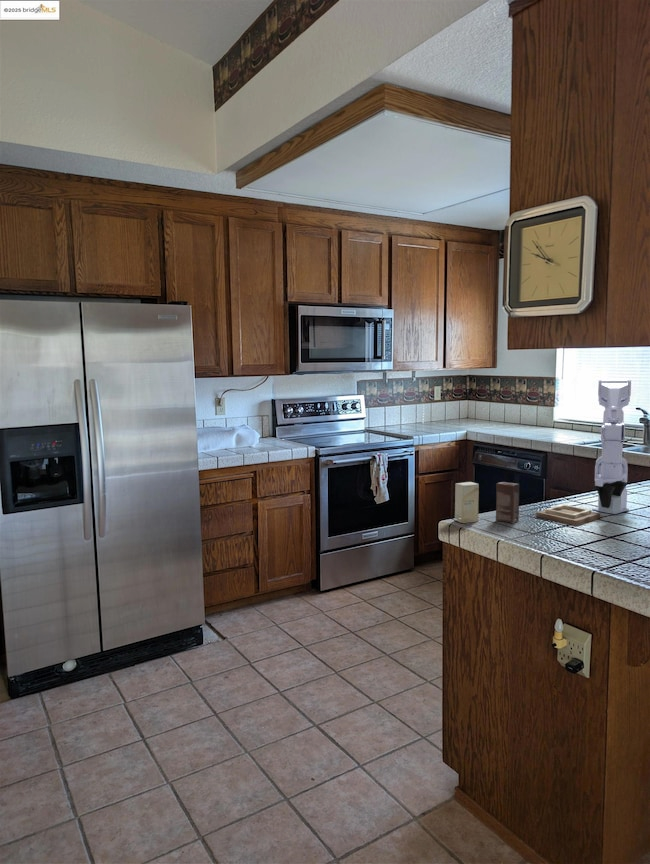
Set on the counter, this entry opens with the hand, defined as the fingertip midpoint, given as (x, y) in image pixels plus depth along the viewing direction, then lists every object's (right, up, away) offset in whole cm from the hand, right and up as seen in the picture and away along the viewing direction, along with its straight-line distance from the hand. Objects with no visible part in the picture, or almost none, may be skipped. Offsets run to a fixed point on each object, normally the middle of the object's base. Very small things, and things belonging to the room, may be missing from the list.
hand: (609, 506), depth 188 cm
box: (-30, -6, +6) cm, 31 cm away
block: (0, -1, 0) cm, 2 cm away
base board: (-10, -5, +8) cm, 14 cm away
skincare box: (-43, -6, +6) cm, 44 cm away
